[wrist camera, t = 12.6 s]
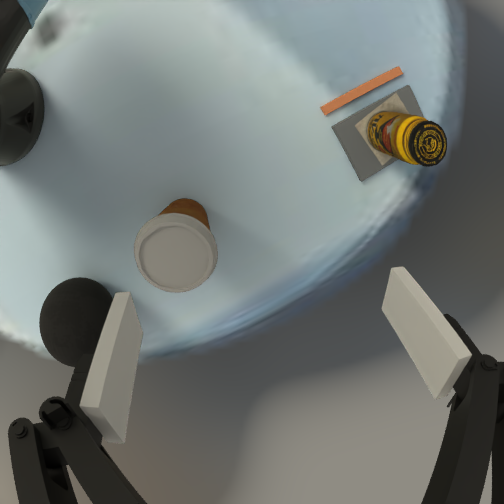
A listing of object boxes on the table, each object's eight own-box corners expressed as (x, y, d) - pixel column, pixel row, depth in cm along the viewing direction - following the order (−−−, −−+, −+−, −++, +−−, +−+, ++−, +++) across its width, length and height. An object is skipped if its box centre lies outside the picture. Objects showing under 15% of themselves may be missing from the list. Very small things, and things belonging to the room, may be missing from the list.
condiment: (353, 125, 40) (396, 136, 29) (395, 92, 38) (445, 95, 27) (381, 165, 43) (426, 188, 32) (420, 132, 41) (471, 147, 30)
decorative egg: (69, 249, 45) (25, 303, 32) (137, 281, 48) (112, 345, 35) (57, 304, 49) (23, 361, 36) (117, 332, 53) (95, 396, 39)
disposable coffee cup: (215, 183, 43) (211, 212, 32) (222, 246, 47) (222, 292, 36) (147, 191, 42) (122, 223, 32) (159, 253, 47) (142, 299, 36)
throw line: (320, 107, 39) (321, 107, 39) (397, 66, 37) (399, 66, 36) (324, 114, 40) (325, 115, 39) (401, 73, 37) (402, 73, 37)
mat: (331, 126, 40) (332, 127, 40) (407, 85, 38) (409, 85, 37) (360, 180, 44) (361, 181, 44) (430, 137, 42) (432, 138, 41)
